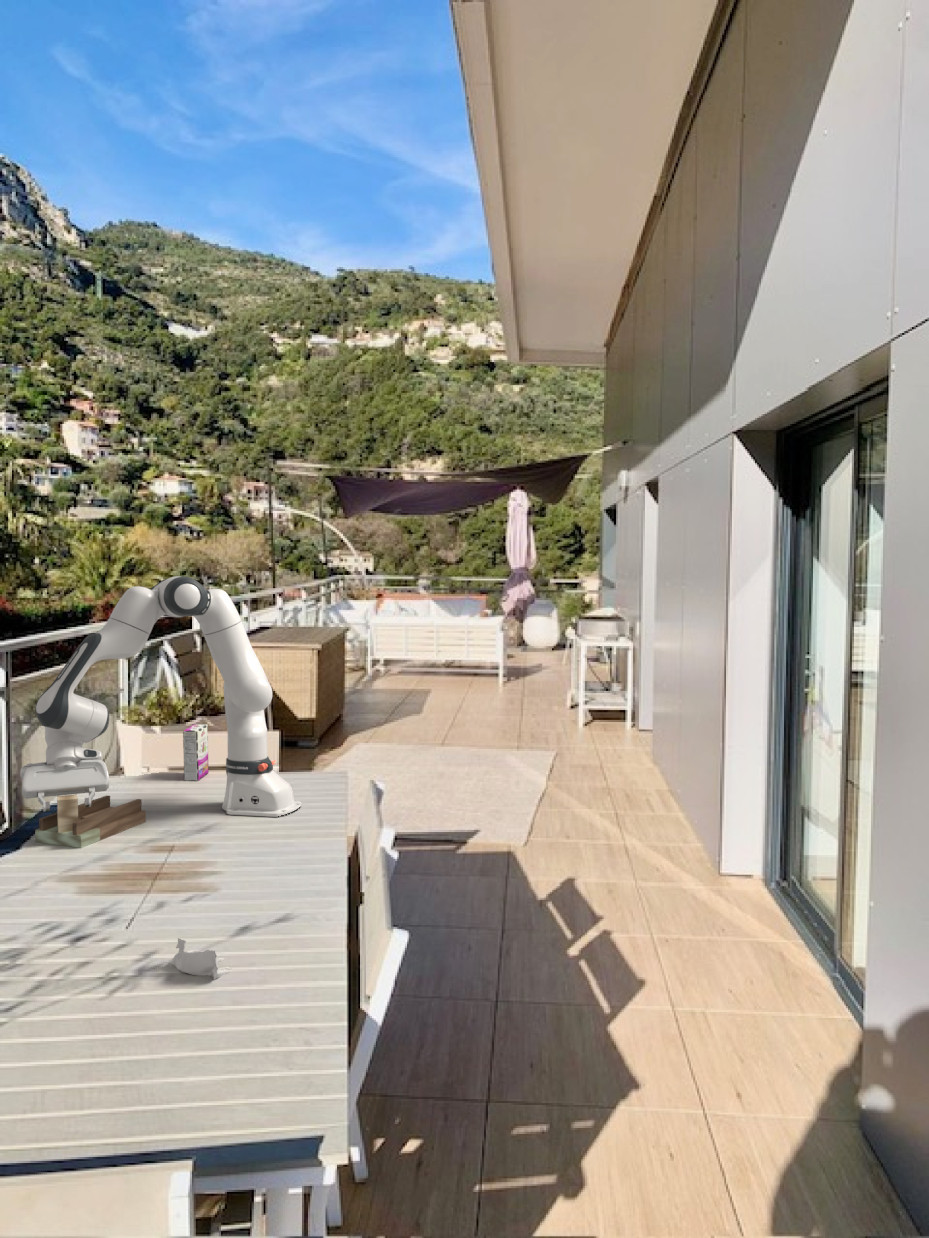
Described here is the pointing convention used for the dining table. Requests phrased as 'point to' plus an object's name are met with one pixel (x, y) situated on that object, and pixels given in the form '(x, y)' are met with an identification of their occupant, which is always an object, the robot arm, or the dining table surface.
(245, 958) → the dining table surface
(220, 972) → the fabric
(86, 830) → the channel deck
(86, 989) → the dining table surface
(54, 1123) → the dining table surface
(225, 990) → the dining table surface
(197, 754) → the candy bar box
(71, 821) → the beech block
